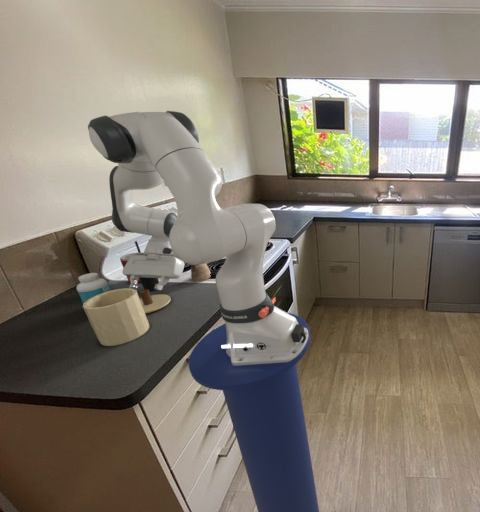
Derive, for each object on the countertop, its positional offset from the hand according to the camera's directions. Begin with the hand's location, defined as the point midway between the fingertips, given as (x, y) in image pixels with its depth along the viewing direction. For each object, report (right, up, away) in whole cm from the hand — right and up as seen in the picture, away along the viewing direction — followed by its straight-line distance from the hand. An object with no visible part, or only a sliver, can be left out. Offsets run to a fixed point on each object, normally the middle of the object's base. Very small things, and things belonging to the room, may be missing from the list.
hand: (145, 289), depth 100 cm
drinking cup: (-9, -2, +14) cm, 17 cm away
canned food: (-20, +1, +22) cm, 30 cm away
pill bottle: (-14, -8, 0) cm, 16 cm away
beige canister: (+4, -12, -12) cm, 18 cm away
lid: (0, -6, +2) cm, 6 cm away
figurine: (+5, +2, +23) cm, 24 cm away
